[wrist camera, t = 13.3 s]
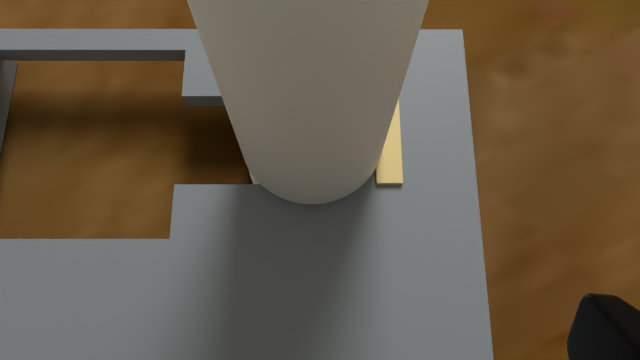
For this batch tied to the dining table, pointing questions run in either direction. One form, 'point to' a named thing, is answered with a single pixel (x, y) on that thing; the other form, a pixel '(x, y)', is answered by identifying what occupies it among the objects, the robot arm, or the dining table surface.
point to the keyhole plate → (267, 241)
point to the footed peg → (309, 85)
